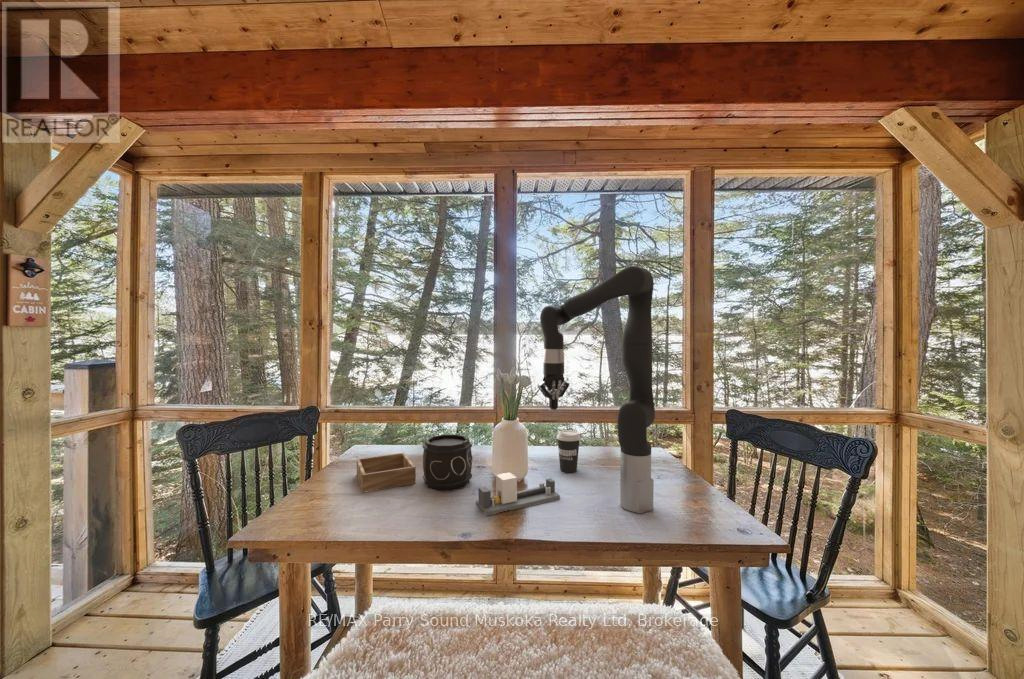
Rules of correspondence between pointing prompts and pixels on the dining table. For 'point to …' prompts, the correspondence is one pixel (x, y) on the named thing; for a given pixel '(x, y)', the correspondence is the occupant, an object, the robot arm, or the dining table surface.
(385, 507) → the dining table surface
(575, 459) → the coffee cup
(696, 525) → the dining table surface
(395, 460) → the box
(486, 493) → the gray slide rail base
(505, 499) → the sleeve
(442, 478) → the black canister
